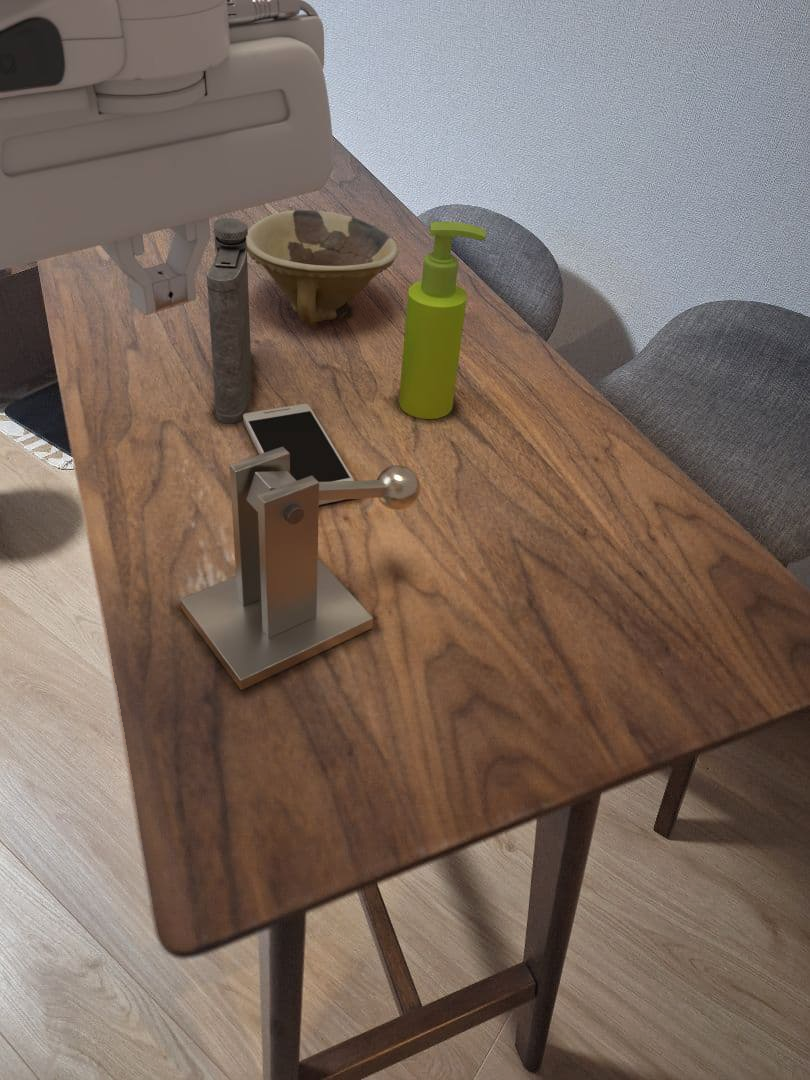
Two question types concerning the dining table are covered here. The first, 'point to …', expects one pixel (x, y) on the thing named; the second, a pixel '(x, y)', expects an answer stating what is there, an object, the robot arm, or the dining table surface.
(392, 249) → the bowl
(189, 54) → the robot arm
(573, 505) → the dining table surface
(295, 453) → the smartphone
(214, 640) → the metal pivot stand
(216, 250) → the flask
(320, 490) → the lever
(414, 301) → the soap dispenser
